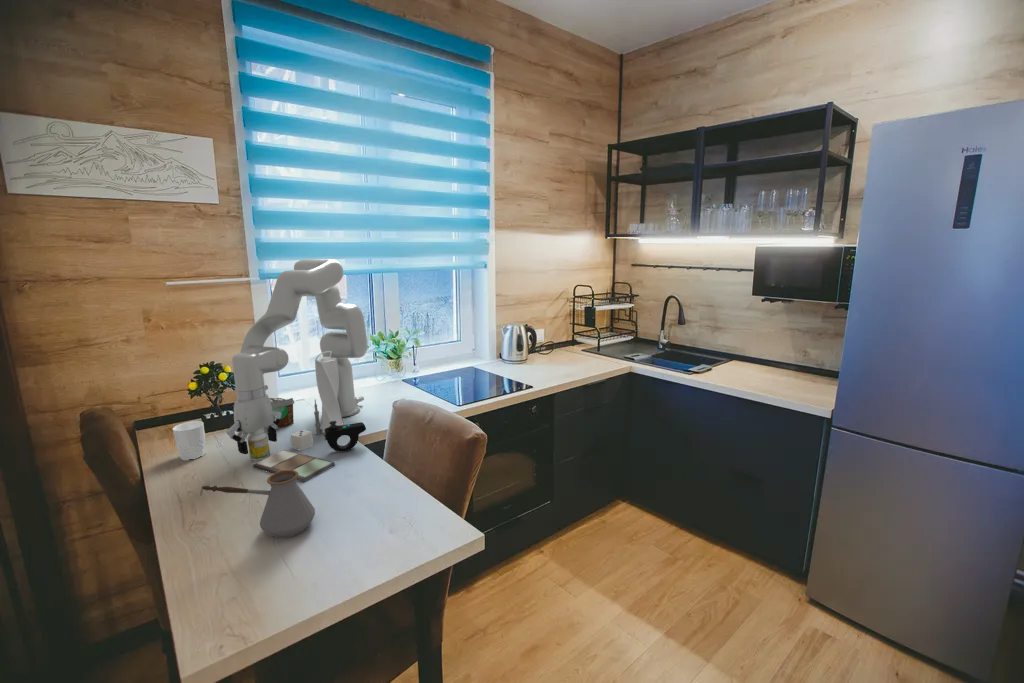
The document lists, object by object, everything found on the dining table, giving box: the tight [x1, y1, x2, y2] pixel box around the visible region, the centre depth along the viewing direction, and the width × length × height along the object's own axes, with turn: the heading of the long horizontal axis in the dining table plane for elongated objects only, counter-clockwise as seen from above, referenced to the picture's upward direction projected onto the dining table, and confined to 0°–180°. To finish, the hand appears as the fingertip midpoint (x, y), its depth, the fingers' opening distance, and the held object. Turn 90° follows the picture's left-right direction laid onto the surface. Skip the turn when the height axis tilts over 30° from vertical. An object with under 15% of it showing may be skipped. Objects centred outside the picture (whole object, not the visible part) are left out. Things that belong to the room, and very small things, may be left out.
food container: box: [269, 397, 295, 429], centre depth 169 cm, size 12×6×10 cm, turn 73°
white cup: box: [172, 420, 207, 461], centre depth 146 cm, size 8×8×10 cm
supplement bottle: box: [247, 428, 271, 462], centre depth 144 cm, size 5×5×10 cm
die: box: [289, 429, 314, 451], centre depth 152 cm, size 4×4×5 cm
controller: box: [323, 421, 367, 453], centre depth 148 cm, size 4×12×10 cm, turn 117°
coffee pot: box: [199, 470, 316, 539], centre depth 104 cm, size 21×12×15 cm, turn 121°
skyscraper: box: [313, 351, 344, 436], centre depth 162 cm, size 8×8×28 cm
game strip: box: [252, 449, 336, 483], centre depth 138 cm, size 11×21×1 cm, turn 64°
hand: (258, 447), depth 144 cm, fingers open, 9 cm apart
